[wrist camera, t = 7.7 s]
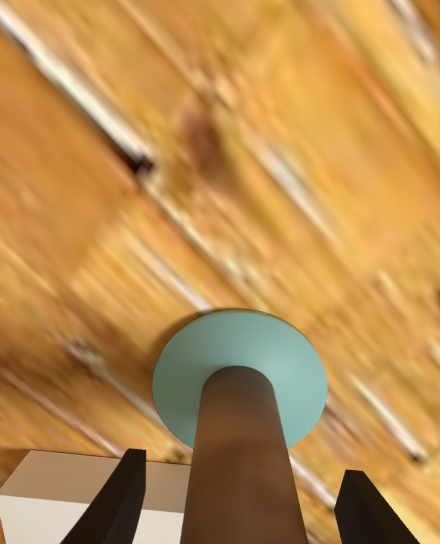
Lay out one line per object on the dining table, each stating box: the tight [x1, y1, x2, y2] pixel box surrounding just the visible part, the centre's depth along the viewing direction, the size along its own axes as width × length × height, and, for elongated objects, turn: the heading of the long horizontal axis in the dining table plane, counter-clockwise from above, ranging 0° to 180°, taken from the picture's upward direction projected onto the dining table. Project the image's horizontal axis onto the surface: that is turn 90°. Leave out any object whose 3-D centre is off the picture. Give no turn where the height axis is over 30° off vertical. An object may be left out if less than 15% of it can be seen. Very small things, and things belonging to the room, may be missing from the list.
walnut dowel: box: [180, 366, 308, 544], centre depth 10 cm, size 4×4×8 cm
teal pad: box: [152, 309, 327, 449], centre depth 14 cm, size 9×9×1 cm
